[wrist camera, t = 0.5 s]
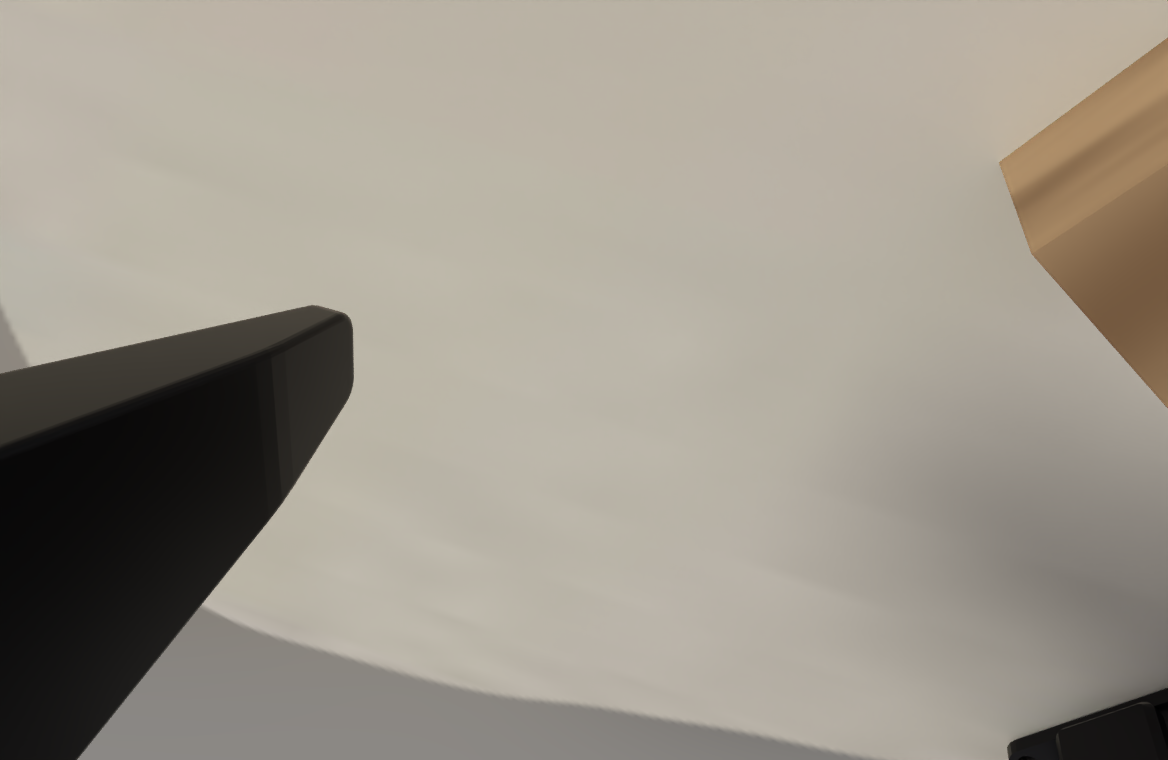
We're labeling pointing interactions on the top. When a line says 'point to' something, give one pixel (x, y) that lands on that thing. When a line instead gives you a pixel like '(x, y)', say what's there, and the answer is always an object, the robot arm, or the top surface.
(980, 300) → the top surface
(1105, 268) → the walnut block
